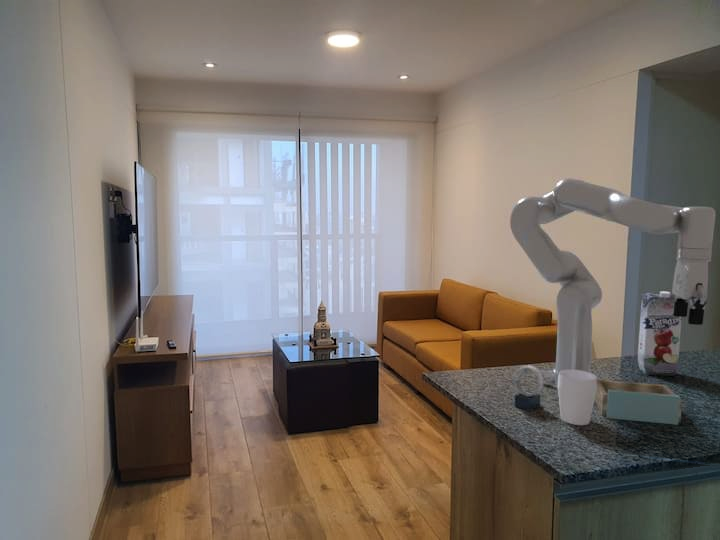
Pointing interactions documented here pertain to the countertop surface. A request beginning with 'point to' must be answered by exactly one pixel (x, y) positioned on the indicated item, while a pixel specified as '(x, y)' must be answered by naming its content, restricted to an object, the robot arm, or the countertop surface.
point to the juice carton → (659, 335)
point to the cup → (576, 395)
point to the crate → (627, 386)
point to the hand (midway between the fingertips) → (687, 320)
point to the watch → (527, 398)
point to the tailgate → (643, 406)
